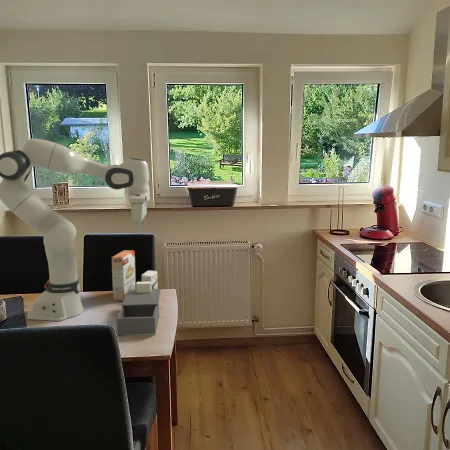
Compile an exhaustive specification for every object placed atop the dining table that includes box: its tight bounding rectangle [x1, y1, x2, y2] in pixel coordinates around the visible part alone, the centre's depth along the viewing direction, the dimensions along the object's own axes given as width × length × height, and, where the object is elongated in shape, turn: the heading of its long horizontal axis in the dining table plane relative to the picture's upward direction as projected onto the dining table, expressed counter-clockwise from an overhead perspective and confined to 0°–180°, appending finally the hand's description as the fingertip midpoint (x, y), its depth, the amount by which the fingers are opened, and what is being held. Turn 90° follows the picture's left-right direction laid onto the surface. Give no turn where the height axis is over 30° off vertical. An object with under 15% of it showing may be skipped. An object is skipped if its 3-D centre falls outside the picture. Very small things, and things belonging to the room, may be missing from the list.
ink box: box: [141, 270, 159, 289], centre depth 195 cm, size 8×5×12 cm, turn 168°
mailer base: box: [116, 300, 160, 337], centre depth 164 cm, size 14×18×7 cm
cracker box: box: [111, 249, 136, 302], centre depth 195 cm, size 14×6×21 cm, turn 170°
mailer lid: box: [121, 281, 162, 307], centre depth 174 cm, size 14×18×5 cm
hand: (140, 228), depth 179 cm, fingers open, 8 cm apart
